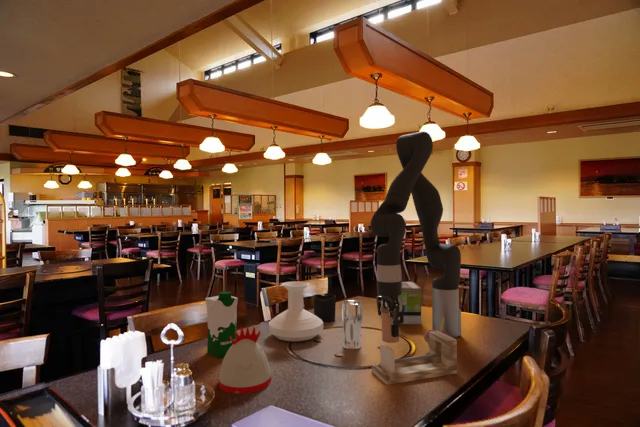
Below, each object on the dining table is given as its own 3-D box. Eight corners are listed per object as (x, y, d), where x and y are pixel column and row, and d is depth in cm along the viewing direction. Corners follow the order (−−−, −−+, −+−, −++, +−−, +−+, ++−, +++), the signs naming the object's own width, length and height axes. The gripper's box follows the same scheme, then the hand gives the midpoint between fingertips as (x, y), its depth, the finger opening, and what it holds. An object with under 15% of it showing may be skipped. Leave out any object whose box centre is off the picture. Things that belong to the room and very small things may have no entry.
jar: (394, 336, 128) (393, 305, 128) (402, 341, 123) (402, 309, 123) (378, 338, 127) (377, 307, 126) (386, 343, 122) (386, 311, 121)
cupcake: (451, 348, 134) (451, 312, 134) (451, 357, 126) (451, 319, 126) (425, 346, 137) (424, 310, 137) (422, 354, 129) (422, 317, 129)
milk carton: (217, 359, 126) (216, 295, 126) (202, 352, 133) (202, 291, 132) (241, 352, 132) (240, 291, 132) (226, 346, 139) (225, 287, 139)
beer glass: (361, 350, 133) (360, 305, 133) (340, 349, 135) (339, 304, 134) (363, 343, 140) (363, 300, 140) (343, 342, 141) (342, 299, 141)
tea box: (422, 324, 162) (421, 287, 162) (396, 324, 162) (396, 287, 162) (414, 314, 177) (413, 280, 177) (390, 314, 177) (390, 281, 177)
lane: (438, 362, 123) (437, 330, 123) (456, 373, 114) (456, 339, 114) (371, 371, 116) (371, 338, 116) (386, 384, 107) (386, 349, 107)
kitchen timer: (275, 389, 105) (274, 332, 105) (220, 397, 101) (219, 337, 101) (266, 369, 119) (266, 318, 118) (218, 375, 115) (217, 322, 115)
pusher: (437, 360, 121) (437, 336, 121) (449, 367, 115) (449, 342, 115) (380, 368, 115) (380, 343, 115) (390, 376, 109) (390, 350, 109)
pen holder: (325, 315, 177) (325, 292, 177) (340, 320, 170) (340, 296, 170) (308, 319, 170) (308, 296, 170) (324, 324, 163) (324, 299, 163)
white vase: (290, 350, 135) (290, 291, 134) (257, 336, 150) (257, 283, 149) (334, 337, 148) (334, 284, 147) (300, 325, 163) (299, 277, 162)
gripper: (412, 281, 119) (413, 339, 119) (388, 273, 132) (390, 325, 133) (389, 284, 116) (390, 342, 117) (367, 275, 130) (369, 328, 131)
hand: (390, 333), depth 125 cm, fingers closed on jar, 5 cm apart
